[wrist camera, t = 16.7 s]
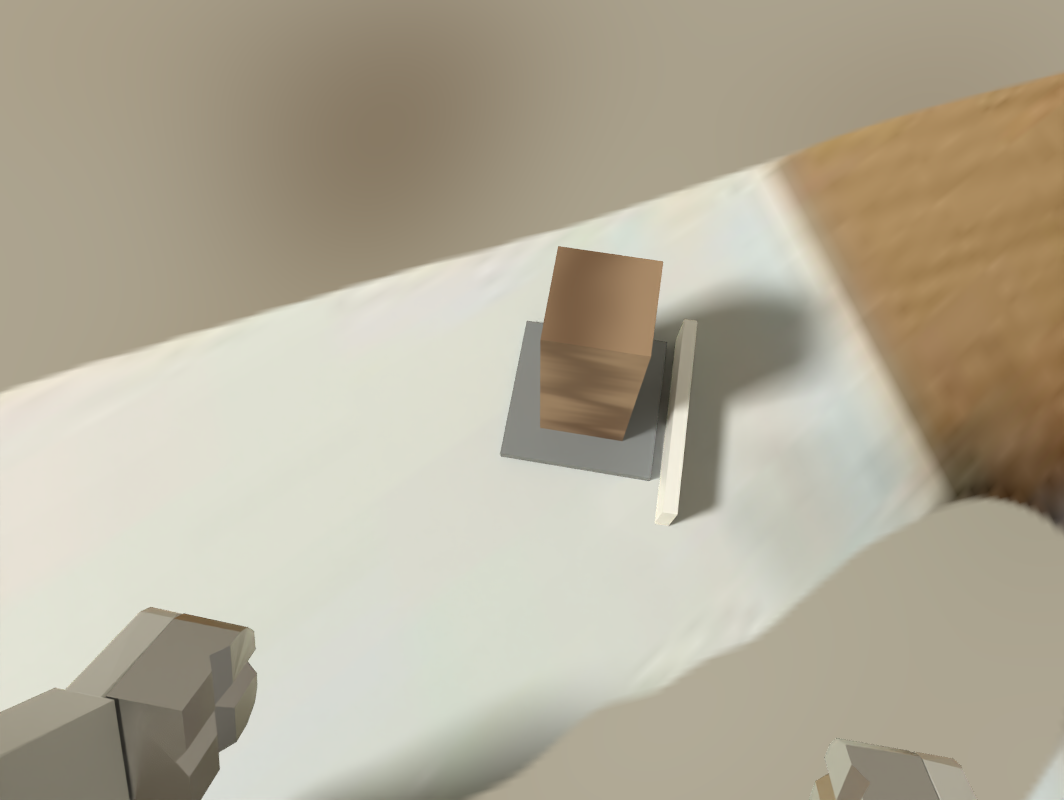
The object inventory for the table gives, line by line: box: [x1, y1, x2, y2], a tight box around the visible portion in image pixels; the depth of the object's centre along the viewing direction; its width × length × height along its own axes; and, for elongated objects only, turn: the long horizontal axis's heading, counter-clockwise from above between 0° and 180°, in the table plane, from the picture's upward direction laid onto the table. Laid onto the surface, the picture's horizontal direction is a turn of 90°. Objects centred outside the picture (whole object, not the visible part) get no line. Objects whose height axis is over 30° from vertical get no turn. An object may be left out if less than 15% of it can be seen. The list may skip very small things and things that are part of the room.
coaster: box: [500, 321, 667, 481], centre depth 45 cm, size 9×9×1 cm
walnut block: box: [540, 246, 663, 441], centre depth 39 cm, size 5×5×12 cm
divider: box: [655, 319, 698, 526], centre depth 43 cm, size 1×12×3 cm, turn 170°
